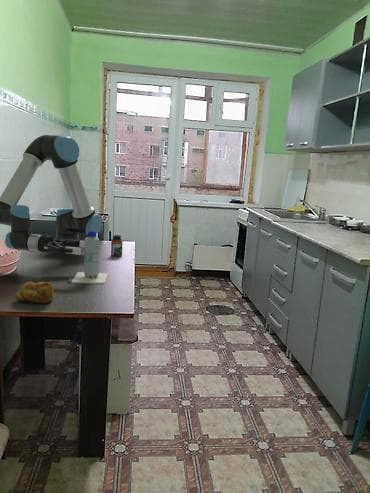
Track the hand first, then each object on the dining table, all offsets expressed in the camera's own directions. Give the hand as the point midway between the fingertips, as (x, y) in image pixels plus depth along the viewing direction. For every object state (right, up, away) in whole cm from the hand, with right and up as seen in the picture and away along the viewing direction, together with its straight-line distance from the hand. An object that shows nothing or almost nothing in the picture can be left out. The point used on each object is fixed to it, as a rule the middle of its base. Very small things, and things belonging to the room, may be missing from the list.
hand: (87, 248), depth 165 cm
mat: (0, -13, +1) cm, 13 cm away
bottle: (+1, -12, +2) cm, 13 cm away
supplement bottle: (+5, -5, +44) cm, 45 cm away
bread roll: (-11, -19, -28) cm, 35 cm away
